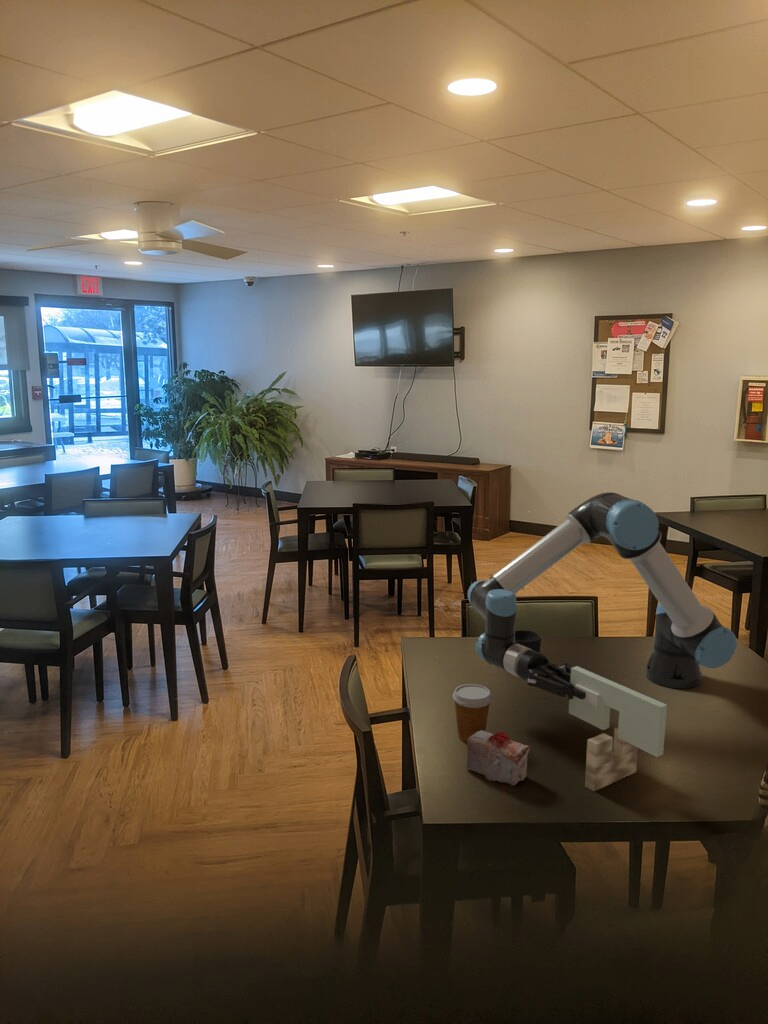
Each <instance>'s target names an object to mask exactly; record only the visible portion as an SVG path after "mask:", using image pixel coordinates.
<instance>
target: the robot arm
mask: <svg viewBox="0 0 768 1024" xmlns="http://www.w3.org/2000/svg"><path fill="white" fill-rule="evenodd" d="M659 528H660V523H659V519H658V517H657V515H656V512H654V511H653V509H652V508H651V507H650V506H648V505H647V504H646V503H644V502H642V501H639V500H636V499H632V498H629V497H626V496H625V495H622V494H619V493H617V492H609V491H608V492H603V493H602V492H601V493H599V494H596V495H593V496H592V497H590V498H588V499H587V500H585V501H583V502H581V503H580V504H579V505H578V506H576V507H575V508H573V509H572V510H571V511H569V512H568V513H567V514H566V515H565V520H564V521H563V522H561V523H560V524H559V525H557V526H556V527H554V528H553V529H552V530H551V531H550V532H548V533H546V535H544V536H543V537H542V538H540V539H539V540H538V541H536V542H534V543H533V545H531V546H530V547H529V548H527V549H525V551H523V552H522V553H520V554H519V555H518V556H517V557H515V558H514V559H512V560H511V561H510V562H508V564H506V565H504V566H503V567H502V568H501V569H500V570H498V571H497V572H495V573H494V574H493V575H492V576H491V577H489V578H488V579H486V580H476V581H474V582H473V583H471V585H470V586H469V588H468V590H467V598H468V599H467V600H468V601H469V603H470V604H471V607H472V608H473V609H475V610H476V611H477V612H478V613H479V614H480V615H481V617H482V618H483V619H484V620H485V630H484V632H483V633H481V634H480V636H478V638H477V642H476V643H475V651H476V655H477V656H478V657H479V658H480V659H481V660H483V661H485V662H487V664H489V665H491V666H495V667H497V668H498V669H501V670H503V671H505V672H507V673H509V674H511V675H513V676H515V677H517V678H520V679H521V680H524V681H525V682H526V683H527V686H530V687H535V688H538V689H541V690H543V691H546V692H548V693H551V694H554V695H557V696H559V697H562V698H565V697H566V695H567V696H568V700H569V699H573V696H575V697H577V698H579V699H582V700H584V701H586V702H588V703H590V704H592V705H594V706H596V707H598V706H599V701H600V694H598V693H596V692H593V691H591V690H589V689H587V688H585V687H582V686H580V685H578V684H576V685H575V687H574V685H573V684H571V683H570V677H571V668H573V667H572V666H571V665H570V664H569V663H568V662H564V663H563V664H562V666H559V665H557V664H556V663H551V662H549V660H548V658H547V657H546V656H545V655H544V654H543V653H541V652H540V653H539V652H536V651H534V650H532V649H530V648H527V647H525V646H522V645H520V644H518V643H516V642H515V631H516V623H517V621H516V620H517V619H516V618H517V609H518V606H517V596H516V594H517V593H518V592H520V591H521V590H522V589H524V587H526V586H527V585H529V584H530V583H532V582H533V581H534V580H535V579H537V578H538V577H540V576H541V575H542V574H543V573H545V572H546V571H547V570H549V569H551V568H552V567H553V566H554V565H555V564H557V563H558V562H560V561H561V560H563V558H564V557H565V558H566V556H567V555H569V554H570V553H571V552H573V551H574V550H576V548H578V547H580V545H582V544H583V543H585V544H586V543H587V544H590V543H592V541H594V540H595V539H596V538H599V537H604V538H606V539H607V540H608V541H609V542H610V543H611V545H612V546H613V548H614V549H615V550H616V552H617V553H618V555H619V556H620V557H621V558H622V559H624V560H630V562H631V563H632V565H633V566H634V568H635V569H636V570H637V572H638V574H639V575H640V576H641V578H642V580H643V581H644V582H645V584H646V586H647V587H648V588H649V590H650V591H651V593H652V594H653V595H654V596H653V597H655V599H656V600H657V601H658V603H657V605H656V609H655V610H656V612H655V627H654V640H653V641H654V642H653V650H652V653H651V655H650V658H649V660H648V662H647V664H646V666H645V677H646V678H647V679H648V680H650V681H651V682H653V683H655V685H660V686H662V687H667V688H673V689H692V688H696V687H698V686H700V685H701V683H702V677H703V676H702V675H703V674H702V671H701V668H700V666H703V667H705V668H708V669H717V668H720V667H723V666H725V665H726V664H727V663H728V662H730V661H731V660H732V658H733V656H734V655H735V653H736V652H735V651H736V649H737V645H738V642H737V637H736V635H735V633H734V632H733V631H732V630H731V629H730V628H728V627H727V626H724V625H723V624H722V623H721V622H720V620H719V619H718V617H717V616H716V614H715V612H714V611H713V609H711V607H709V606H707V605H702V604H701V602H700V601H699V600H698V598H697V597H696V595H695V593H694V592H693V590H692V589H691V587H690V586H689V585H688V582H687V581H686V580H685V578H684V577H683V575H682V573H681V572H680V570H679V569H678V568H677V566H676V564H675V563H674V561H673V560H672V559H671V557H670V555H669V554H668V553H667V551H666V550H665V548H664V546H663V545H662V543H661V542H660V541H661V539H662V531H660V529H659Z"/></svg>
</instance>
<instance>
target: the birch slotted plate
mask: <svg viewBox="0 0 768 1024" xmlns="http://www.w3.org/2000/svg"><path fill="white" fill-rule="evenodd" d="M613 730H614V732H613V736H610V735H609V734H607V733H605V732H603V733H601V734H597V735H596V736H594V737H591V738H588V739H587V740H586V741H587V742H586V743H587V744H586V759H585V779H584V787H585V788H587V789H588V790H590V791H592V792H596V791H598V790H600V789H602V788H604V787H607V786H609V785H611V784H614V783H615V782H616V783H617V782H618V781H619V780H622V779H624V778H626V776H627V777H628V776H631V775H633V774H635V773H637V766H638V764H637V763H638V752H639V751H638V750H639V748H638V747H636V746H634V745H632V744H630V743H628V742H626V741H624V740H622V739H620V738H618V727H615V728H614V729H613ZM613 782H614V783H613Z"/></svg>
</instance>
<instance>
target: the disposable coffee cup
mask: <svg viewBox="0 0 768 1024" xmlns="http://www.w3.org/2000/svg"><path fill="white" fill-rule="evenodd" d="M492 699H493V696H492V694H491V691H490V689H489V688H488V687H486V686H483V685H481V684H476V683H475V684H473V683H470V684H469V683H468V684H467V683H466V684H462V685H458V686H457V687H455V689H454V692H453V693H452V700H453V702H454V707H455V714H456V715H455V718H456V727H457V734H458V739H459V740H460V741H462V742H464V743H467V741H468V738H469V737H470V736H471V735H473V734H475V733H476V732H478V731H481V730H483V731H486V727H487V722H488V715H489V711H490V703H491V701H492Z"/></svg>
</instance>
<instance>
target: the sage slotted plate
mask: <svg viewBox="0 0 768 1024" xmlns="http://www.w3.org/2000/svg"><path fill="white" fill-rule="evenodd" d="M570 683H571V684H573V685H574V687H575V685H576V684H578V685H580V686H582V687H585V688H587V689H589V690H591V691H593V692H596V693H598V694H600V701H599V706H598V707H596V706H594V705H592V704H590V703H588V702H586V701H584V700H582V699H579V698H577V697H575V696H573V699H568V714H569V715H572V716H574V717H576V718H578V719H580V720H581V721H584V722H586V723H588V724H590V725H592V726H594V727H596V728H598V729H600V730H602V731H604V730H607V729H609V728H610V717H611V709H613V710H616V711H617V712H619V713H618V724H617V725H618V727H617V728H618V738H620V739H622V740H624V741H626V742H628V743H630V744H632V745H634V746H636V747H638V749H640V750H641V751H644V752H646V753H648V754H650V755H652V756H653V757H656V758H659V757H661V756H662V755H664V751H665V749H664V747H665V735H666V724H667V712H668V711H667V710H668V704H666V703H664V702H661V701H659V700H656V699H655V698H652V697H650V696H648V695H645V694H642V693H640V692H638V691H636V690H633V689H631V688H629V687H627V686H624V685H622V684H619V683H618V682H615V681H613V680H610V679H608V678H606V677H603V676H601V675H599V674H596V673H595V672H592V671H590V670H587V669H585V668H584V667H583V668H582V667H580V666H579V665H576V666H573V667H572V668H571V677H570Z"/></svg>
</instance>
